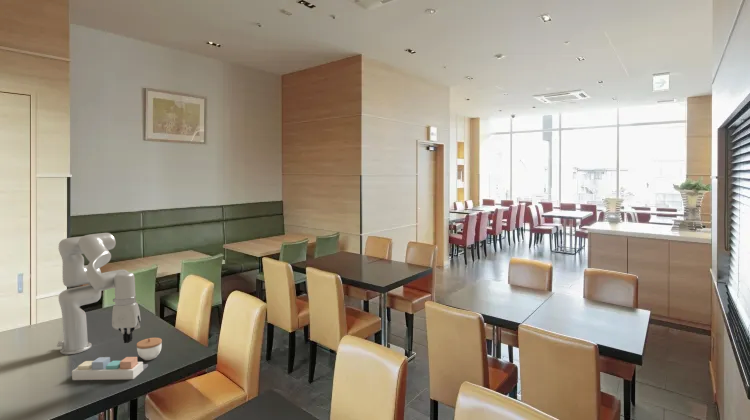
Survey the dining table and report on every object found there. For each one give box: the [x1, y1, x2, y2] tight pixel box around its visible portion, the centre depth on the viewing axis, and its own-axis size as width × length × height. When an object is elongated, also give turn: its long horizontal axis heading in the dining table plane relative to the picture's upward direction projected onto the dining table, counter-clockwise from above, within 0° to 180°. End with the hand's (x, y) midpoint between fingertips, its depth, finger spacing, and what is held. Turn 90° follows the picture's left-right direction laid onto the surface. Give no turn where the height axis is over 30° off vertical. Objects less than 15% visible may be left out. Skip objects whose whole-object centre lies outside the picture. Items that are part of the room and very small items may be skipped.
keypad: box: [71, 361, 149, 381], centre depth 175 cm, size 26×12×4 cm, turn 92°
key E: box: [77, 360, 94, 370], centre depth 173 cm, size 5×5×5 cm
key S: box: [92, 356, 111, 370], centre depth 173 cm, size 5×5×5 cm
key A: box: [119, 356, 139, 369], centre depth 173 cm, size 5×5×5 cm
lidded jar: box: [135, 337, 163, 361], centre depth 190 cm, size 11×11×9 cm
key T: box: [106, 360, 121, 369], centre depth 173 cm, size 5×5×5 cm
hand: (128, 341), depth 172 cm, fingers closed
